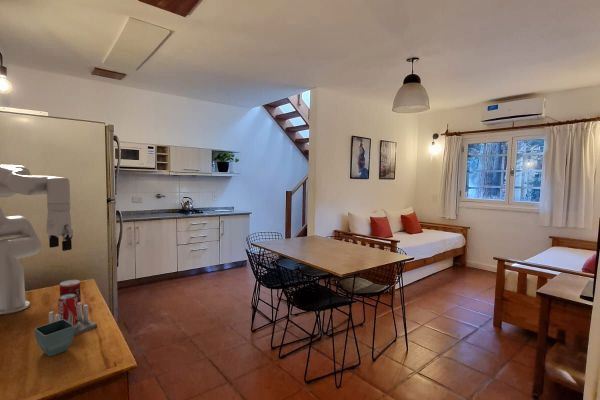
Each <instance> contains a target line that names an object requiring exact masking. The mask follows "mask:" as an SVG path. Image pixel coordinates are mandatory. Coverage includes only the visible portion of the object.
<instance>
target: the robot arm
mask: <svg viewBox="0 0 600 400" xmlns="http://www.w3.org/2000/svg"><path fill="white" fill-rule="evenodd" d="M70 185H71V184H70V179H69V178H68V177H65V176H63V177H62V176H52V175H31V172H30V170H29V168H28V167H26V166H24V165H20V164H19V165H17V164H16V165H14V164H0V199H1V198H9V197H14V196H16V195H17V194H19V195H25V196H35V195H37V196H38V195H46V208H47V209H46V211H47V213H46V214H47V215H46V234H48V241H49V243H48V245H49V248H51V249H53V248H56V247H60V243H59V242H60V240H59V238H60V237H61V239H62V240H61V250H62V251H63V252H65V251H70V250H72V249H73V246H72V243H73V242H72V240H73V234H74V230H73V229H72V218H71V212H70V211H71V187H70ZM41 249H42V242H41V240H40V238H39V236H38V234H37V232H36V229H35V228H34V225H32V223H31V221H30V220H29V219H28V218H27V217H25V216H22V215H11V216H7V215H5V213H4V212H3V209H2V208H1V207H0V315H8V314H14V313H18V312H20V311H23V310H25V309H27V308H29V307H30V305H31V302H30V301H28V300H26V290H25V286H26V285H25V270H24V268H25V267H24V266H23V265H22V264H21V262H19V261H18V260H19V259H23V258H26V257H27V258H28V257H31V256H34V255H38V253H40V252H41Z"/></svg>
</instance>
